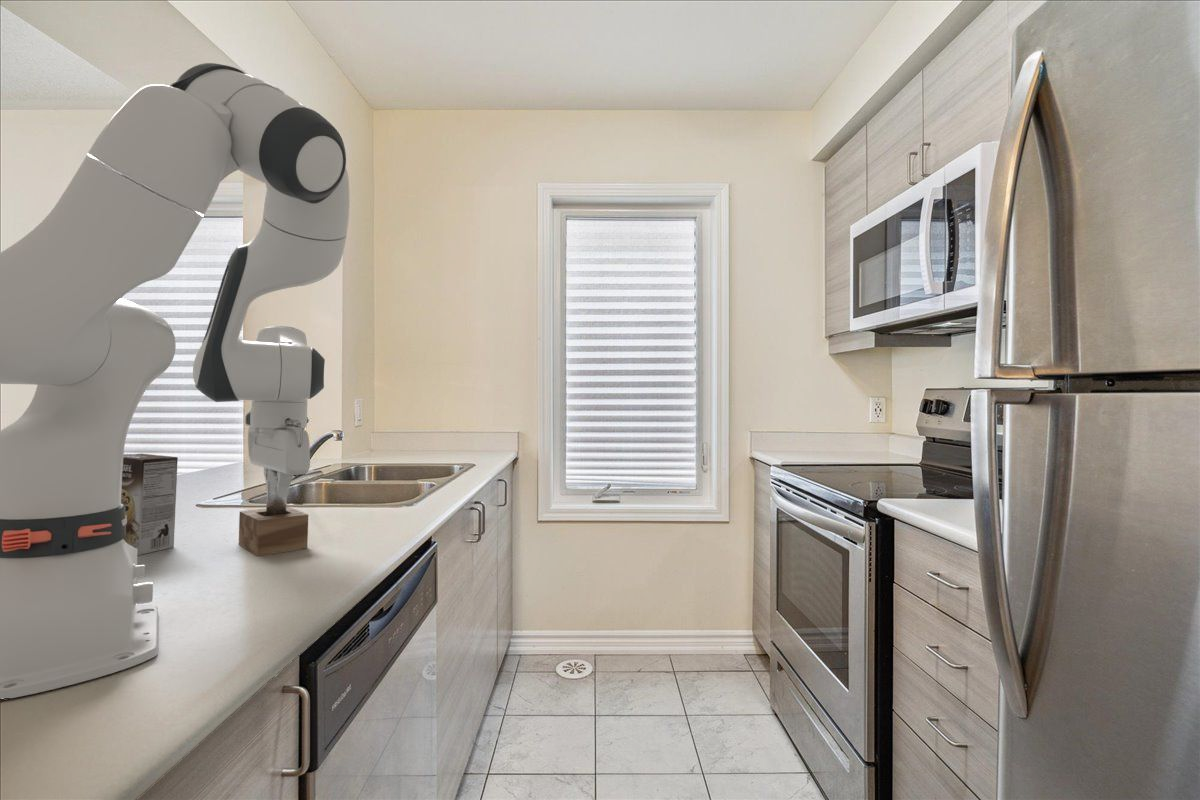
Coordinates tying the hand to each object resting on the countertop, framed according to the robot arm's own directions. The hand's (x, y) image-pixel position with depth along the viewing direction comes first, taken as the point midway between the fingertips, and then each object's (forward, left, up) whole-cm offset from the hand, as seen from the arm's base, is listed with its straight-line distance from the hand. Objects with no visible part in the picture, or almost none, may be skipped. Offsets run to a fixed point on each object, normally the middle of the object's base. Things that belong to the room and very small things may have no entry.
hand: (277, 494), depth 104 cm
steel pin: (0, 0, -4) cm, 4 cm away
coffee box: (+13, +17, -10) cm, 24 cm away
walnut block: (0, 0, -9) cm, 9 cm away
